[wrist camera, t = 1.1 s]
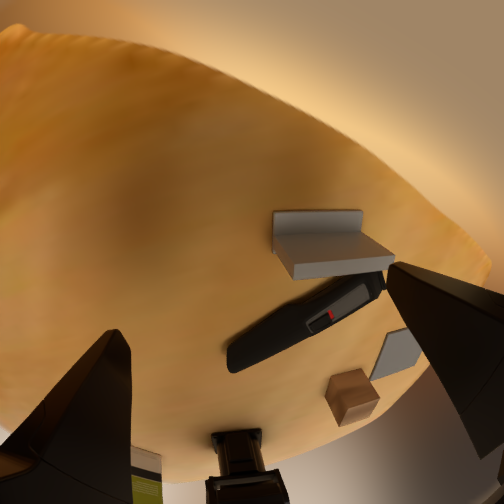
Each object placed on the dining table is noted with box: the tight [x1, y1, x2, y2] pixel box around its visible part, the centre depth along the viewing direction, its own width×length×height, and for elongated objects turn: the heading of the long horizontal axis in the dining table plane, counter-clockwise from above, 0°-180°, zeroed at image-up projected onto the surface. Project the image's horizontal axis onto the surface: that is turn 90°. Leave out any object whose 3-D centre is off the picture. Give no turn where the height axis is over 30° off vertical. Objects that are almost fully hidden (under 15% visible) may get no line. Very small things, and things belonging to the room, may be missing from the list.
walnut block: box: [325, 368, 380, 427], centre depth 26 cm, size 4×4×5 cm
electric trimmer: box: [227, 271, 387, 373], centre depth 21 cm, size 4×16×3 cm, turn 119°
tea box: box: [131, 446, 163, 504], centre depth 23 cm, size 15×10×15 cm, turn 140°
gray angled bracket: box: [272, 210, 395, 280], centre depth 17 cm, size 3×7×5 cm, turn 90°
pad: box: [369, 327, 422, 381], centre depth 28 cm, size 8×8×1 cm
